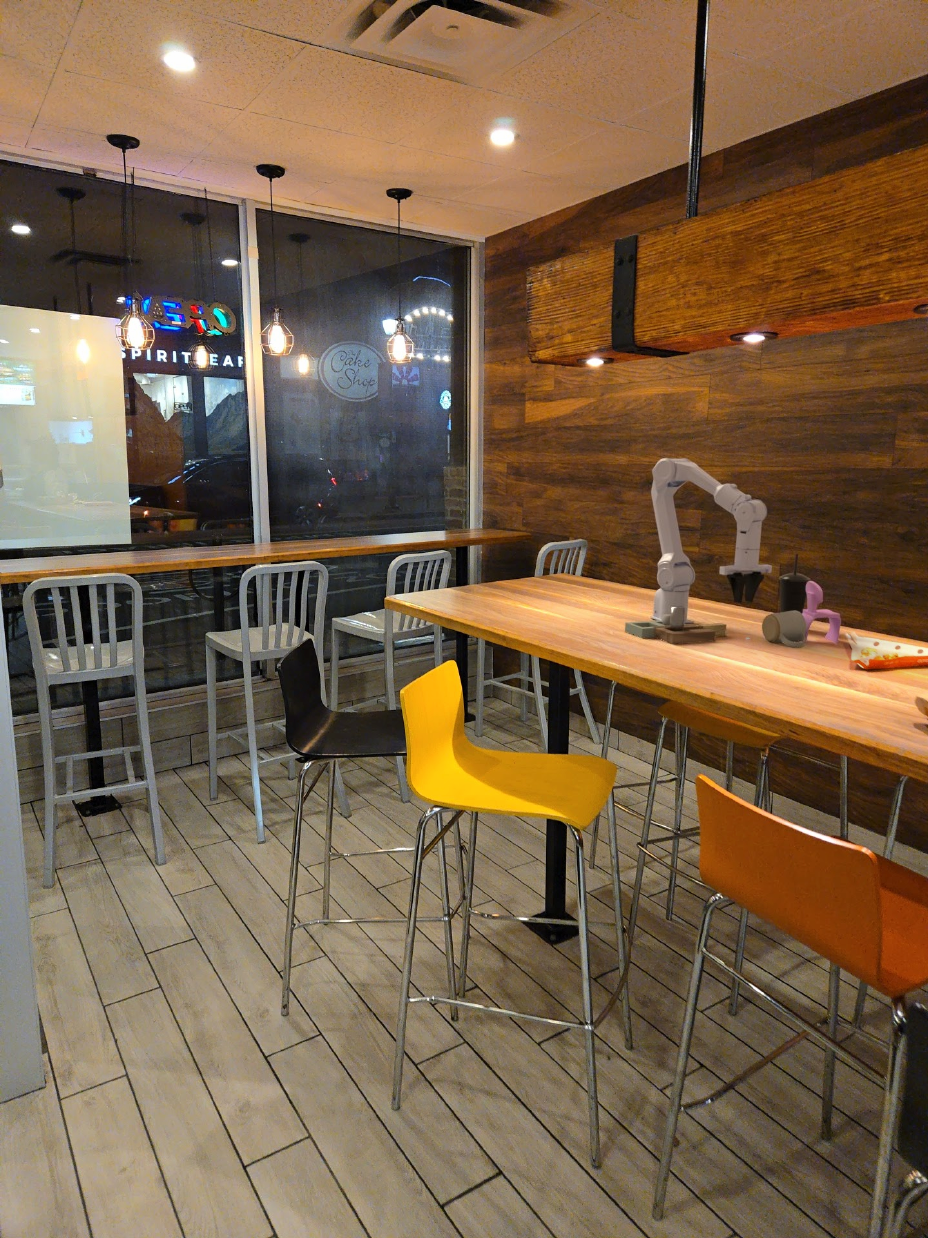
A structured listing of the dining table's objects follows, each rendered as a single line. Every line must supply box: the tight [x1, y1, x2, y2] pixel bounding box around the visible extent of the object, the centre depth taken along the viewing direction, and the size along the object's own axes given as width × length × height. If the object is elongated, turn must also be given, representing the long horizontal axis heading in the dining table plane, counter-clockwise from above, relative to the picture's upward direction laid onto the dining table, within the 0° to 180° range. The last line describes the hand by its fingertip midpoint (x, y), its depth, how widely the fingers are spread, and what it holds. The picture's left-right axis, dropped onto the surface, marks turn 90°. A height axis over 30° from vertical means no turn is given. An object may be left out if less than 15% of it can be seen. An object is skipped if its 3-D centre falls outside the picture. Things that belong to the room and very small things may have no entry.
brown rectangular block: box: [697, 622, 727, 638], centre depth 212 cm, size 2×7×3 cm, turn 110°
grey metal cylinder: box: [670, 606, 685, 632], centre depth 207 cm, size 3×3×8 cm
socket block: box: [651, 623, 716, 645], centre depth 209 cm, size 10×12×2 cm
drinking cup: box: [778, 553, 811, 614], centre depth 221 cm, size 8×8×20 cm
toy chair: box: [800, 580, 842, 645], centre depth 207 cm, size 8×9×15 cm
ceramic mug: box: [761, 610, 807, 648], centre depth 205 cm, size 11×8×8 cm
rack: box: [624, 614, 690, 639], centre depth 214 cm, size 8×14×4 cm, turn 110°
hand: (743, 601), depth 213 cm, fingers open, 3 cm apart
